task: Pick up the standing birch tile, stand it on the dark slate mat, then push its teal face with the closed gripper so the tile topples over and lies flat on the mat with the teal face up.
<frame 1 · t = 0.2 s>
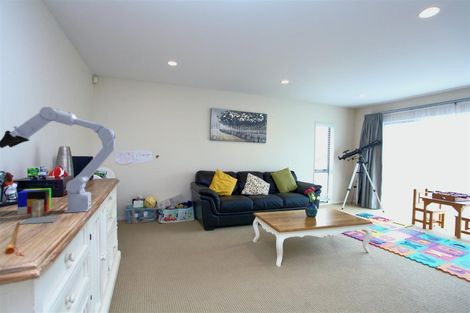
hand: (4, 146, 102), 31 cm above the sideboard, tool tilted 45°, fingers open, 7 cm apart
tile: (37, 216, 101), on the sideboard
puzzle toy: (35, 211, 110), on the sideboard
mat: (41, 220, 95), on the sideboard
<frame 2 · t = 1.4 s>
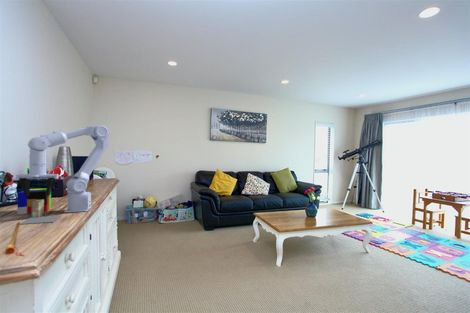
hand: (37, 195, 101), 9 cm above the sideboard, tool pointing down, fingers open, 7 cm apart
nothing on the sideboard moved.
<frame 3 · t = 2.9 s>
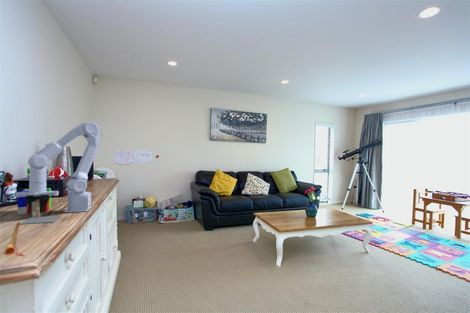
hand: (37, 212, 101), 2 cm above the sideboard, tool pointing down, fingers closed on tile, 2 cm apart
tile: (37, 216, 101), on the sideboard, touching gripper
everything else where it was.
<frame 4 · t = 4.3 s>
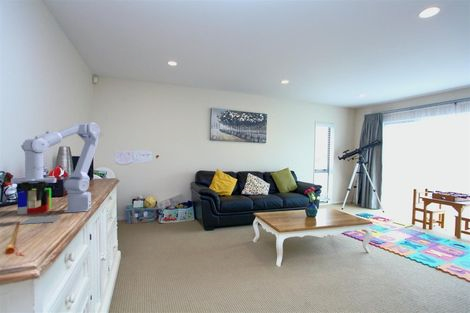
hand: (34, 200, 95), 8 cm above the sideboard, tool pointing down, fingers closed on tile, 2 cm apart
tile: (34, 206, 95), point 6 cm above the sideboard, touching gripper
everything else where it was.
when the fingers open (2 cm above the sideboard, at t = 5.6 s): tile stays where it is, resting on mat.
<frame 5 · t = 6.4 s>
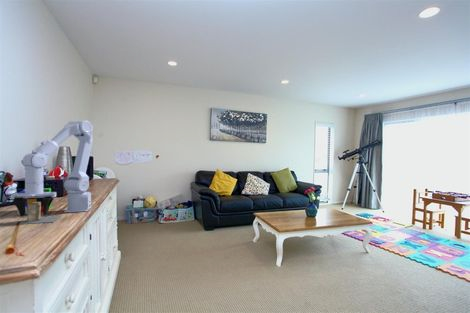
hand: (34, 215, 95), 2 cm above the sideboard, tool pointing down, fingers open, 7 cm apart
tile: (34, 220, 95), resting on mat
everything else where it was.
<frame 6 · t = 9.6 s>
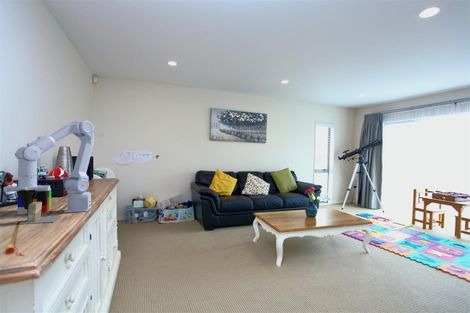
hand: (27, 208, 94), 5 cm above the sideboard, tool pointing down, fingers closed
tile: (34, 219, 95), resting on mat, touching gripper
everything else where it was.
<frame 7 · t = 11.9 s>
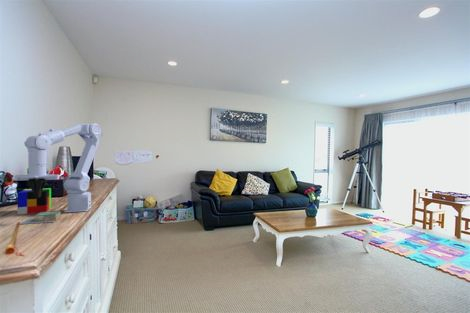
hand: (37, 197, 95), 10 cm above the sideboard, tool pointing down, fingers closed
tile: (38, 216, 95), point 2 cm above the sideboard, tilted 90°, touching mat
everything else where it was.
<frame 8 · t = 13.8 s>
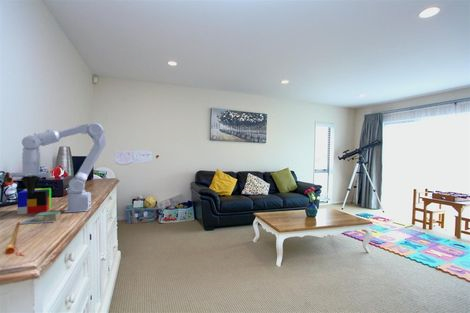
hand: (31, 193, 102), 10 cm above the sideboard, tool pointing down, fingers closed
nothing on the sideboard moved.
at the end: tile tilted 90°; tile inside the target area (0.2 cm from its centre), point 1.5 cm above the sideboard; the gripper is holding nothing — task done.
